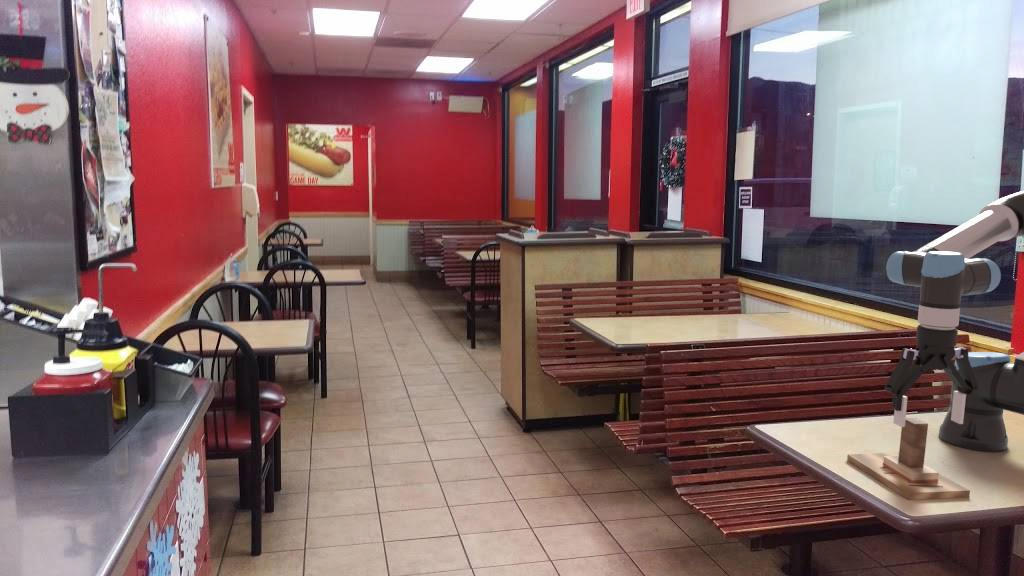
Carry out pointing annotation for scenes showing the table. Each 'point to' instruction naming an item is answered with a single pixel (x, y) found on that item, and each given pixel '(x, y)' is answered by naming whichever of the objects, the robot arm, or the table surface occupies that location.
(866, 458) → the board
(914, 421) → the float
